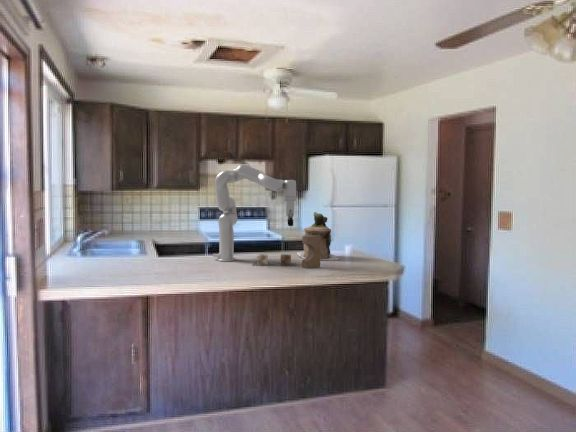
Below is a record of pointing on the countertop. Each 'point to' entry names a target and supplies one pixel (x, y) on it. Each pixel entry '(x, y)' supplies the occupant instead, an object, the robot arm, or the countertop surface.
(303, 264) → the decorative block
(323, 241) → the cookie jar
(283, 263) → the walnut block
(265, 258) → the maple block
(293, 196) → the robot arm
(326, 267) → the countertop surface
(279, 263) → the mat
